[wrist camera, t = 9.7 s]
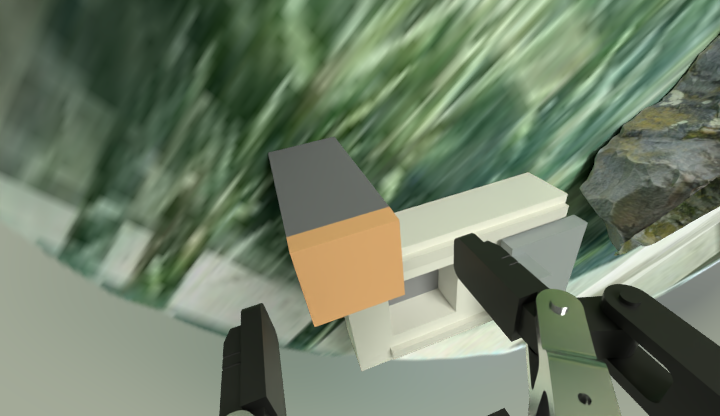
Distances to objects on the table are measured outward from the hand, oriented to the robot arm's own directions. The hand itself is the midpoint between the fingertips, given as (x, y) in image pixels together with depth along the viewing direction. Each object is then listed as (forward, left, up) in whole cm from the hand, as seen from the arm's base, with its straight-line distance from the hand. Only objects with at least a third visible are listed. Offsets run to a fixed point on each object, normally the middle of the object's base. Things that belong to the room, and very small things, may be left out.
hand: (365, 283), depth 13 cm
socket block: (+11, +9, -10) cm, 17 cm away
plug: (0, 0, -10) cm, 10 cm away
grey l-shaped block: (+11, +15, -6) cm, 20 cm away
